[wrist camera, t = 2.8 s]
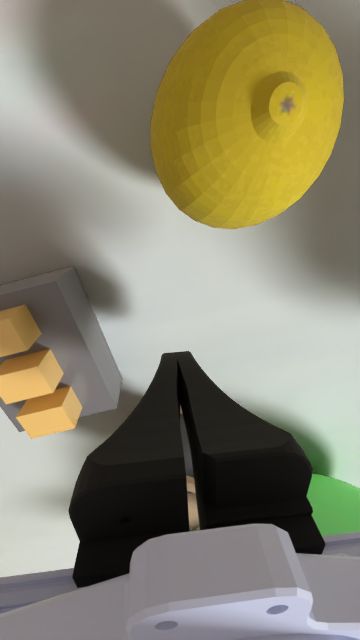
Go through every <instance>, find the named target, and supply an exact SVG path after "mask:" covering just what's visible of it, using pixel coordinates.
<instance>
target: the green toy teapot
mask: <svg viewBox="0 0 360 640" xmlns="http://www.w3.org/2000/svg"><path fill="white" fill-rule="evenodd" d="M307 498H308V500H309V502H310V504H311V506H312V509H313V513H312V514H311V515H312V517H313V519H314V521H315V523H316V525H317V527H318V529H319V531H320V533H321V535H322V536H327V535H335V534H343V533H350V532H358V531H360V488H358V487H356V486H353V485H351V484H349V483H346V482H344V481H341V480H338V479H335V478H331V477H328V476H323V475H318V474H312V478H311V482H310V485H309V489H308V493H307Z"/></svg>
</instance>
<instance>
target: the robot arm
mask: <svg viewBox="0 0 360 640" xmlns="http://www.w3.org/2000/svg"><path fill="white" fill-rule="evenodd" d="M180 405H181V409H182V414H183V419H184V423H185V428H186V433H187V437H188V442H189V447H190V452H191V460H192V468H193V476H194V485H195V493H196V501H197V510H198V519H199V528H200V530H198V531H190V532H189V513H188V496H187V480H186V469H185V459H184V451H183V444H182V436H181V428H180ZM311 478H312V467H311V464H310V462H309V460H308V459H307V457H306V455H305V453H304V452H303V450H302V449H301V447H300V446H299V445H298V443H297V442H296V441H295V439H294V438H293V437H292V435H291V434H290V433H288V432H286V431H284V430H282V429H280V428H278V427H276V426H273V425H271V424H269V423H267V422H266V421H264V420H262V419H260V418H259V417H257V416H255V415H253V414H252V413H250V412H249V411H247V410H246V409H244V408H243V407H241V406H240V405H239V404H237V403H236V402H235V401H233V400H232V399H231V398H230V397H228V396H227V395H226V394H225V393H224V392H223V391H222V390H221V389H220V388H219V387H217V385H216V384H215V383H214V382H213V381H212V380H211V379H210V378H209V377H208V376H207V375H206V373H205V372H204V371H203V370H202V369H201V367H200V366H199V365H198V363H197V362H196V360H195V359H194V357H193V356H192V354H191V353H190V352H189V351H185V352H174V353H164V354H163V355H162V357H161V361H160V364H159V367H158V370H157V372H156V374H155V376H154V378H153V381H152V382H151V384H150V386H149V388H148V390H147V391H146V393H145V395H144V396H143V398H142V399H141V401H140V402H139V404H138V405H137V407H136V408H135V409H134V411H133V412H132V413H131V414H130V416H129V417H128V418H127V419H126V420H125V422H124V423H123V424H122V425H121V426H120V427H119V428H118V429H117V430H116V431H115V432H114V433H113V434H112V435H111V436H110V437H109V438H108V439H107V440H106V441H105V442H104V443H102V444H101V445H100V446H99V447H98V448H97V449H95V450H94V451H93V452H92V453H91V454H89V455H88V456H87V458H86V460H85V462H84V464H83V467H82V469H81V471H80V474H79V476H78V479H77V481H76V484H75V488H74V492H73V495H72V499H71V503H70V507H69V515H70V519H71V521H72V524H73V526H74V528H75V531H76V533H77V535H78V538H79V540H80V544H79V548H78V553H77V557H76V562H75V566H74V568H71V569H63V570H55V571H48V572H40V573H32V574H24V575H17V576H9V577H1V578H0V640H360V531H358V532H350V533H343V534H335V535H327V536H322V535H321V533H320V531H319V529H318V527H317V525H316V523H315V521H314V519H313V517H312V515H311V514H312V513H313V509H312V506H311V504H310V502H309V500H308V498H307V493H308V489H309V485H310V482H311Z"/></svg>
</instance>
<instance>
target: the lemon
mask: <svg viewBox="0 0 360 640" xmlns="http://www.w3.org/2000/svg"><path fill="white" fill-rule="evenodd" d="M343 104H344V90H343V73H342V69H341V66H340V62H339V59H338V55H337V52H336V48H335V46H334V44H333V43H332V41H331V39H330V38H329V36H328V34H327V33H326V31H325V29H324V28H323V26H322V25H321V24H320V23H319V22H318V21H316V20H315V19H314V18H313V17H312V16H311V15H310V14H309V13H307V12H306V11H305V10H304V9H303V8H301V7H299V6H297V5H294V4H292V3H289V2H286V1H284V0H244V1H241V2H239V3H236V4H233V5H231V6H228V7H226V8H223V9H221V10H219V11H218V12H217V13H215V14H214V15H213V16H211V17H210V18H209V19H208V20H206V21H205V22H204V23H202V24H201V25H200V26H199V27H197V28H196V29H195V30H194V31H193V32H192V33H191V34H190V35H189V36H188V38H187V39H186V40H185V42H184V43H183V44H182V46H181V47H180V48H179V50H178V51H177V53H176V54H175V55H174V57H173V58H172V59H171V61H170V63H169V65H168V67H167V69H166V72H165V74H164V76H163V79H162V81H161V84H160V86H159V88H158V91H157V93H156V97H155V103H154V108H153V113H152V118H151V124H150V126H151V152H152V156H153V161H154V165H155V169H156V173H157V176H158V178H159V180H160V182H161V184H162V186H163V188H164V190H165V192H166V194H167V195H168V196H169V198H170V199H171V200H172V201H173V202H174V204H175V205H176V206H177V207H178V209H179V210H181V211H182V212H184V213H185V214H186V215H188V216H189V217H191V218H192V219H193V220H195V221H197V222H200V223H203V224H205V225H208V226H211V227H214V228H225V229H238V228H243V227H248V226H253V225H257V224H259V223H261V222H264V221H266V220H268V219H270V218H272V217H274V216H277V215H279V214H280V213H282V212H283V211H285V210H286V209H287V208H288V207H290V206H291V205H292V204H294V203H295V202H296V201H297V200H299V199H300V198H301V197H302V196H303V195H304V193H305V192H306V191H307V190H308V189H309V187H310V186H311V185H312V184H313V183H314V181H315V180H316V179H317V178H318V177H319V175H320V173H321V171H322V170H323V168H324V166H325V164H326V163H327V161H328V159H329V157H330V155H331V153H332V150H333V147H334V144H335V141H336V138H337V135H338V132H339V130H340V126H341V118H342V111H343Z"/></svg>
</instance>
